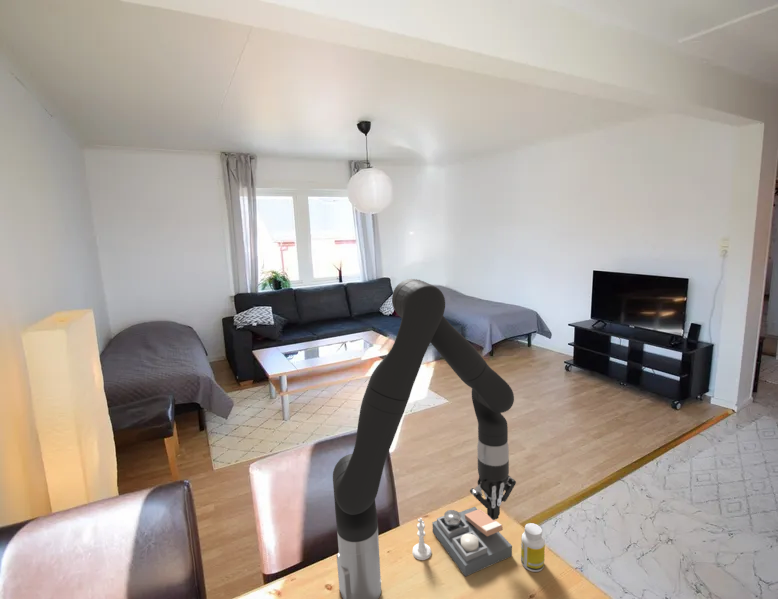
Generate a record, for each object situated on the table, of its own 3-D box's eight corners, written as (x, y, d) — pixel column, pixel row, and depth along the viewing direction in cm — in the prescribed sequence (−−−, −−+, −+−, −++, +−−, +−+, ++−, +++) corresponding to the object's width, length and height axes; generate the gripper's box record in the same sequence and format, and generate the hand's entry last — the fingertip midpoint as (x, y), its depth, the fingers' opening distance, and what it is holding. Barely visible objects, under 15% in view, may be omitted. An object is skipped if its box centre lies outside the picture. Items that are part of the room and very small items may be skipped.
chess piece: (424, 563, 101) (423, 528, 100) (408, 554, 104) (407, 520, 102) (434, 550, 105) (434, 516, 103) (419, 542, 108) (417, 509, 106)
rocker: (486, 536, 102) (486, 531, 102) (465, 518, 111) (464, 513, 111) (502, 529, 104) (502, 524, 104) (480, 513, 113) (479, 508, 113)
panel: (465, 576, 97) (465, 560, 96) (432, 531, 112) (432, 517, 111) (511, 556, 102) (512, 540, 102) (474, 515, 117) (474, 501, 116)
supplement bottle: (548, 566, 99) (550, 531, 97) (533, 576, 96) (534, 540, 94) (531, 551, 103) (532, 517, 102) (516, 560, 101) (516, 526, 99)
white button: (467, 556, 99) (467, 549, 98) (457, 544, 103) (457, 537, 102) (482, 550, 100) (482, 543, 100) (471, 538, 104) (471, 531, 104)
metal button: (449, 530, 106) (449, 523, 105) (441, 519, 110) (441, 513, 109) (464, 524, 107) (463, 518, 107) (455, 514, 111) (455, 508, 111)
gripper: (479, 471, 94) (480, 536, 97) (524, 456, 99) (524, 518, 102) (461, 455, 101) (463, 516, 104) (504, 441, 106) (505, 500, 109)
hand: (493, 517), depth 103 cm, fingers closed
